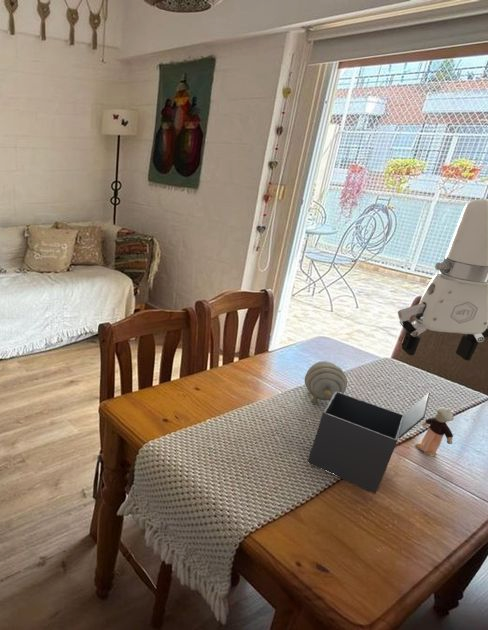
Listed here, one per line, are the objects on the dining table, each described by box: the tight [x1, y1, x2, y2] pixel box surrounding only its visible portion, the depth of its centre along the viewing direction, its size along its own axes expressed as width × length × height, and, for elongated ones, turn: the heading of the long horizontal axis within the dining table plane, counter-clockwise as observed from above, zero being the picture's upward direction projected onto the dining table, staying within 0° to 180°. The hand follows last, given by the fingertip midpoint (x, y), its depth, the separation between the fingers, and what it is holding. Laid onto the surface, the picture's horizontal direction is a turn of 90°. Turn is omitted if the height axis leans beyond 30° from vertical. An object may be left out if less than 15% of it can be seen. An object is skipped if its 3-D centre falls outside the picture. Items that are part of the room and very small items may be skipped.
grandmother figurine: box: [414, 406, 455, 458], centre depth 105 cm, size 8×4×13 cm, turn 17°
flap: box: [398, 392, 431, 440], centre depth 91 cm, size 7×12×1 cm
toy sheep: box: [304, 360, 348, 405], centre depth 125 cm, size 11×17×11 cm, turn 160°
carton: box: [307, 391, 405, 495], centre depth 100 cm, size 14×12×14 cm
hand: (434, 354), depth 85 cm, fingers open, 9 cm apart
